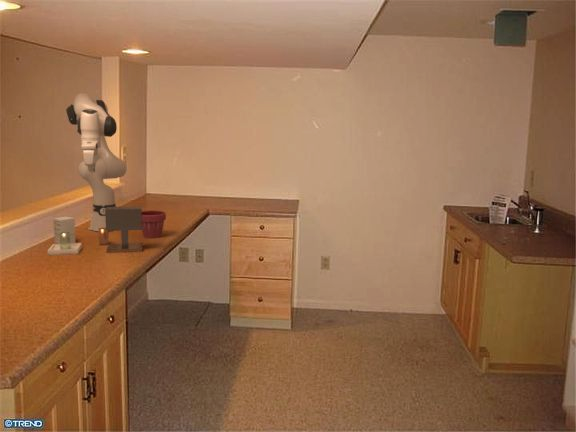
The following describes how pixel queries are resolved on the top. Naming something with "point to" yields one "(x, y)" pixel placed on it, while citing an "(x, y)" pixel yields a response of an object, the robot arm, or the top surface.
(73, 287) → the top surface
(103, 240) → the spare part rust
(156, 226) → the plant pot
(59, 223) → the supplement box
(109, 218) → the mounted unit
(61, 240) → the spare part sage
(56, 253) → the tray
